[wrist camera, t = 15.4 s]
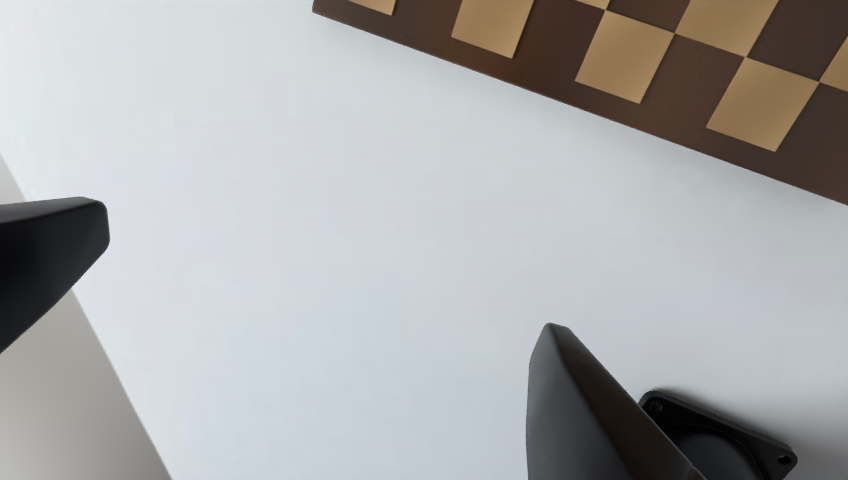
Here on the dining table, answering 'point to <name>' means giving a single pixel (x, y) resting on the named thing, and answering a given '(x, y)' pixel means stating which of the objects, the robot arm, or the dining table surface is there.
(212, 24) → the dining table surface
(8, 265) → the robot arm
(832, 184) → the chessboard
